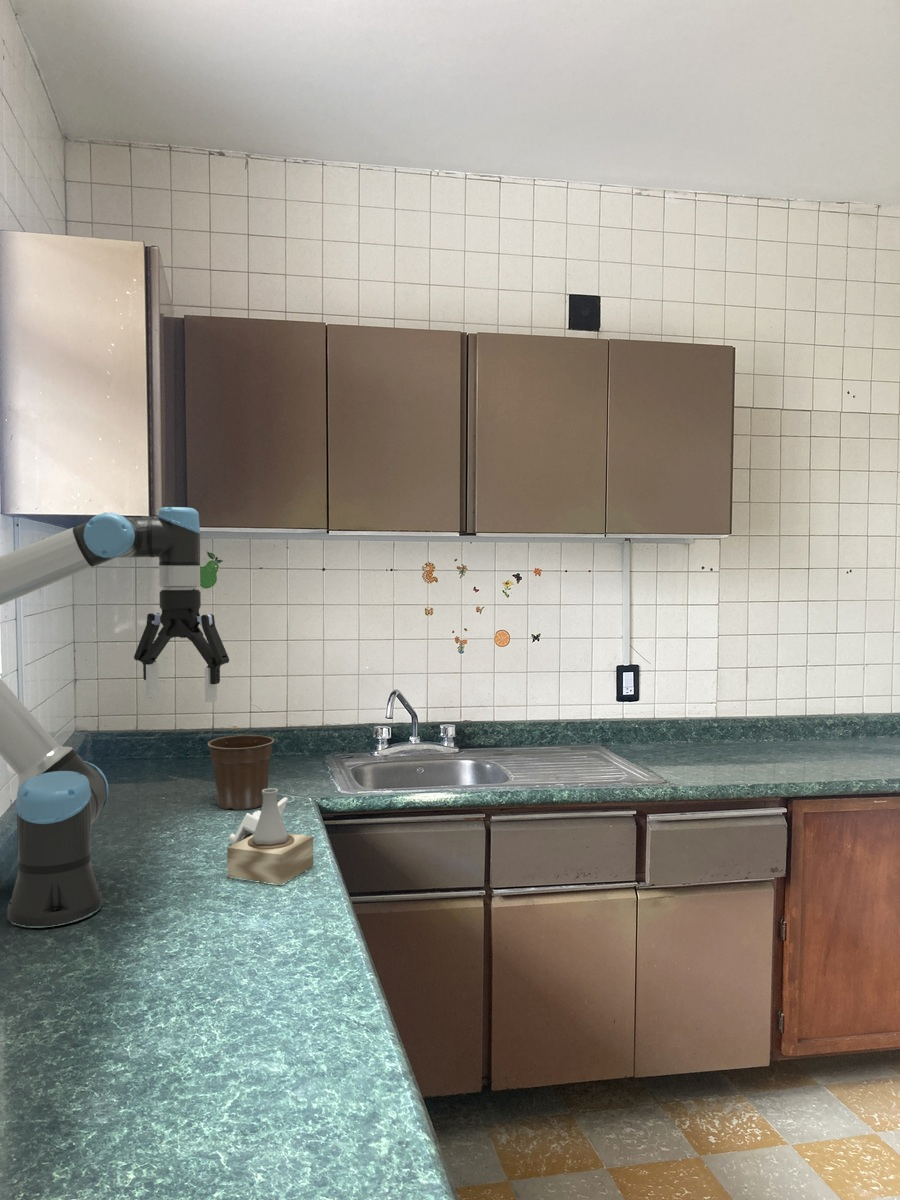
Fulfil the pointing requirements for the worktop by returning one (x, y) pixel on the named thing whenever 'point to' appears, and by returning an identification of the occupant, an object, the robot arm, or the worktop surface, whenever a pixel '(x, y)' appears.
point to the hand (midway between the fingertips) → (181, 699)
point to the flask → (270, 821)
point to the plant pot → (241, 770)
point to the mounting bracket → (252, 823)
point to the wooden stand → (270, 859)
